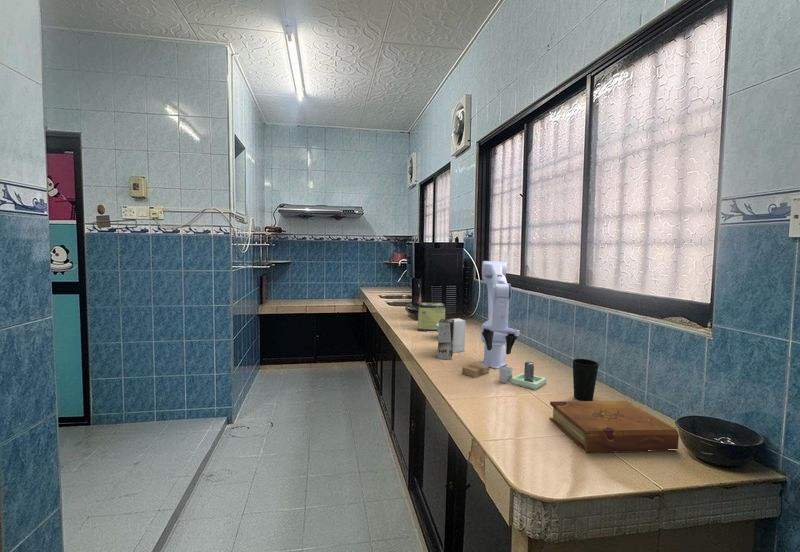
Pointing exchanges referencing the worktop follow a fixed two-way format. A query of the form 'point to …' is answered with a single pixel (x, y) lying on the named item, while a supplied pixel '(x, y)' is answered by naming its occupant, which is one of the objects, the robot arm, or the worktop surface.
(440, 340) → the coffee box
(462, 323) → the skincare box
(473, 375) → the brown rectangular block
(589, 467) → the worktop surface
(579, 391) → the cup
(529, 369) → the steel pin
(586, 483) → the worktop surface
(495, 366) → the robot arm
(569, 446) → the worktop surface
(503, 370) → the block
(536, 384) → the green tray
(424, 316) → the protein box
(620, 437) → the diary
